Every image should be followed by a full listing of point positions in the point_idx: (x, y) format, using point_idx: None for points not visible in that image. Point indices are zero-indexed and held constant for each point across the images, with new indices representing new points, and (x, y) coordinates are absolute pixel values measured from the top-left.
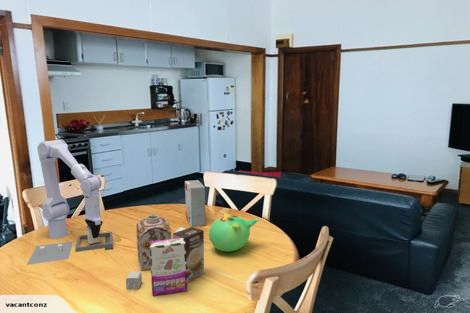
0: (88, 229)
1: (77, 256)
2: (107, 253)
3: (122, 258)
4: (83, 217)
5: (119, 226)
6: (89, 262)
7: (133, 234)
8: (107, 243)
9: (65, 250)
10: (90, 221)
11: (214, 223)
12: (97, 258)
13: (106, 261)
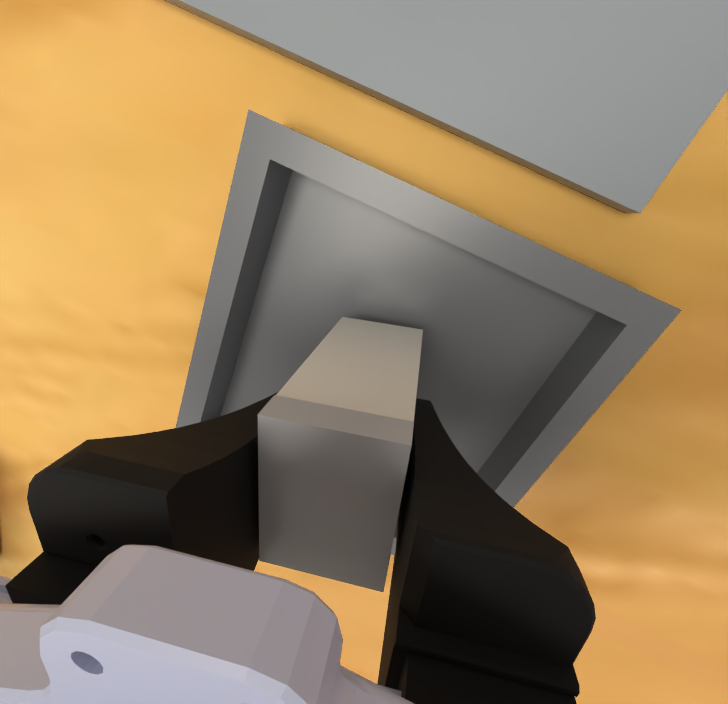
0: (273, 399)
1: (216, 122)
2: (146, 357)
3: (22, 386)
4: (139, 653)
5: (639, 676)
6: (36, 172)
7: (377, 626)
8: (191, 423)
9: (396, 10)
10: (400, 593)
11: None
12: (88, 259)
13: (10, 287)
